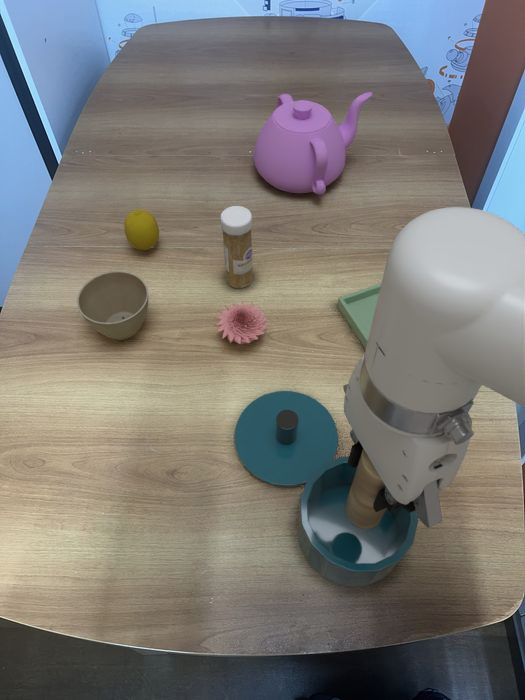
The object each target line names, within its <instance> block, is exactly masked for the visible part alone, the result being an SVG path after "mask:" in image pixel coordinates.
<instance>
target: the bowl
mask: <svg viewBox="0 0 525 700" xmlns="http://www.w3.org/2000/svg"><path fill="white" fill-rule="evenodd" d="M76 307H77V309H78V311H79V313H80V314H81V316H82V318H83V319H84V320H85V321H86V322H87V324H89V325H90V327H92V328H93V329H94V330H95V331H96V332H98V333H100V334H101V335H103V336H105V337H107V338H110V339H113V340H119V341H122V340H123V341H124V340H127V339H130V338H132V337H133V336H135V335H136V334H137V333H138V332H139V330H140V329H141V327H142V326H143V324H144V322H145V320H146V317H147V313H148V310H149V309H148V308H149V289H148V286H147V284H146V282H145V281H144V280H143V278H141V277H140V276H139V275H137V274H135V273H132V272H130V271H123V270H112V271H105V272H103V273H99V274H97V275H95V276H94V277H92V278H90V279H89V280H87V282H85V283H84V285H83V286H82V287H81V288H80V289H79V292H78V294H77V297H76Z"/></svg>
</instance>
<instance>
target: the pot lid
mask: <svg viewBox="0 0 525 700" xmlns="http://www.w3.org/2000/svg"><path fill="white" fill-rule="evenodd" d="M338 445H339V433H338V428H337V425H336V422H335V420H334V418H333V416H332V414H331V413H330V412H329V410H328V409H327V408H326V407H325V406H324V405H323V404H322V403H321V402H319V401H318V400H317V399H315V398H313V397H311V396H310V395H307V394H305V393H301V392H298V391H292V390H278V391H277V390H276V391H271V392H269V393H266V394H263V395H261V396H259V397H257V398H255V399H254V400H253V401H252V402H250V403H249V404H248V405H247V406H246V407H245V408H244V409H243V410H242V411H241V413H240V415H239V417H238V419H237V422H236V424H235V429H234V446H235V450H236V454H237V456H238V458H239V460H240V462H241V464H242V465H243V466H244V468H245V469H246V470H247V471H248V472H249V473H250V474H251V475H253V476H254V477H255V478H257V479H258V480H260V481H262V482H265V483H266V484H269V485H273V486H278V487H297V486H302V485H306V482H307V480H308V479H309V478H310V477H311V476H312V475H313V473H314V472H315V471H316V470H317V469H318V468H319V467H320V466H321V465H323V464H325V463H327V462H330V461H332V460H335V458H336V454H337V451H338V447H339V446H338Z"/></svg>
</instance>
